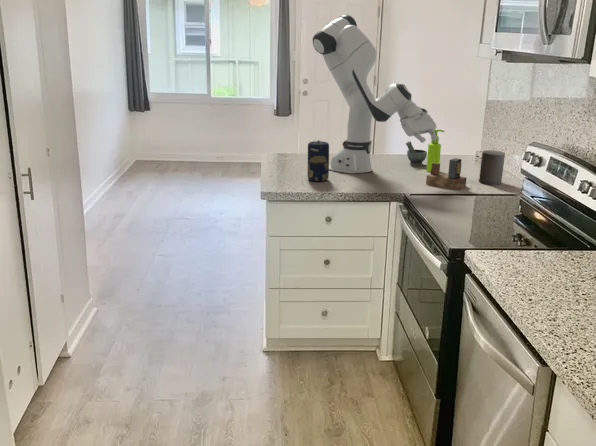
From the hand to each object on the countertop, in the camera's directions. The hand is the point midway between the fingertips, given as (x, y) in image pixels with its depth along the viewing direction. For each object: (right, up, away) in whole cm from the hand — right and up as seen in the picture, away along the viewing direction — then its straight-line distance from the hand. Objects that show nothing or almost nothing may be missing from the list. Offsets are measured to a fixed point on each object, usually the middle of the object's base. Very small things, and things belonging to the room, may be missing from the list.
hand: (429, 140), depth 258 cm
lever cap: (+10, -20, -1) cm, 23 cm away
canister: (-48, -17, +9) cm, 52 cm away
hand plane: (+7, -19, +1) cm, 21 cm away
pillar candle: (+29, -18, +7) cm, 35 cm away
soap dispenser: (+8, -11, +29) cm, 32 cm away
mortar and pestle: (+2, -7, +43) cm, 44 cm away
